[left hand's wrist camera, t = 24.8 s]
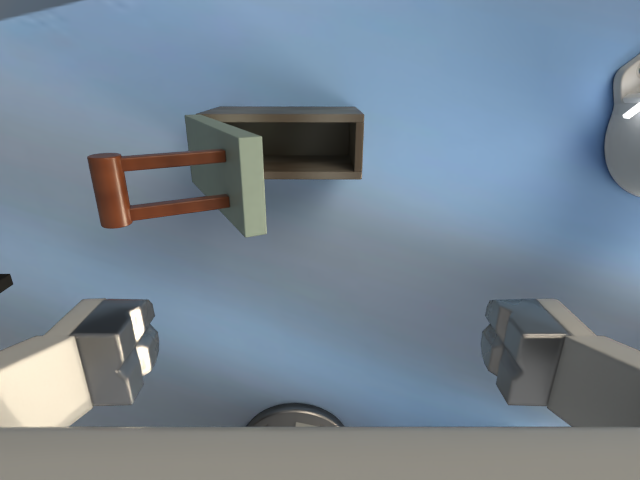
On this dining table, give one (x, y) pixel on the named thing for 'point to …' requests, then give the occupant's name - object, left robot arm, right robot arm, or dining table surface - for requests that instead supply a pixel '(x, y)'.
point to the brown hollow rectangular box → (302, 139)
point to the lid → (207, 174)
